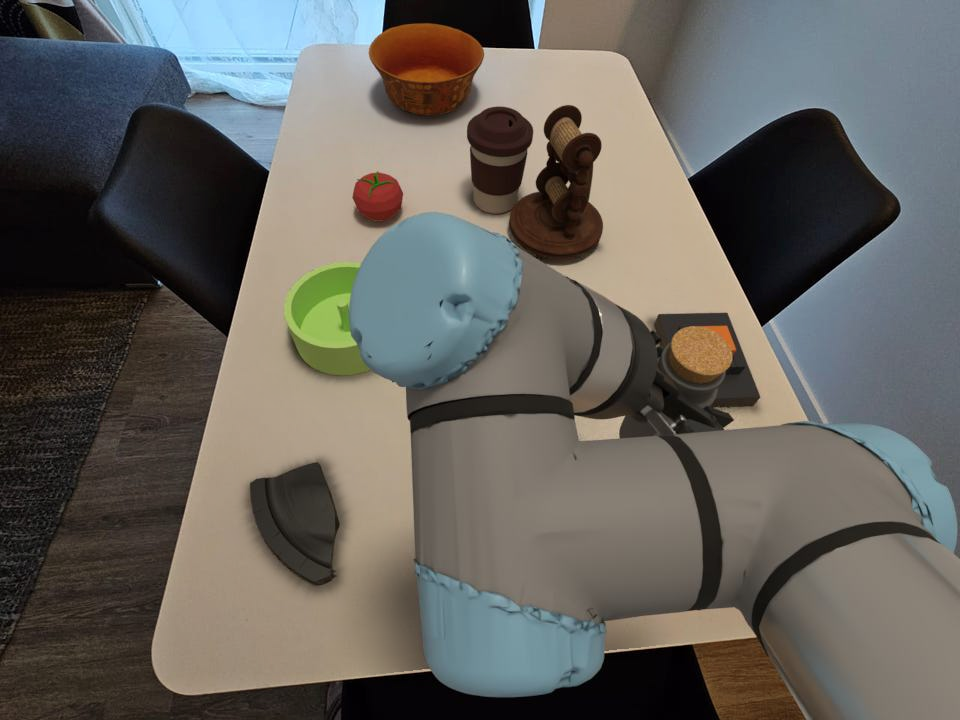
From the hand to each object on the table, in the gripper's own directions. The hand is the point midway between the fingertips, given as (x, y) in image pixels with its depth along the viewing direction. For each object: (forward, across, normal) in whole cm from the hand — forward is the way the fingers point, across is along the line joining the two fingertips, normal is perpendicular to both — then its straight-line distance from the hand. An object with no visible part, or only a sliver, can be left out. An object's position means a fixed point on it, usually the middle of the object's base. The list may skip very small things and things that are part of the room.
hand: (696, 397), depth 53 cm
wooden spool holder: (+21, -41, -5) cm, 46 cm away
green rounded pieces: (-1, -34, -27) cm, 43 cm away
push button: (+25, -10, -1) cm, 27 cm away
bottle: (+1, 0, -6) cm, 7 cm away
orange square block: (+23, -10, +2) cm, 25 cm away
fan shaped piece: (-14, -12, -40) cm, 44 cm away
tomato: (+4, -56, -22) cm, 61 cm away
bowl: (+19, -84, -8) cm, 86 cm away
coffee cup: (+18, -52, -9) cm, 55 cm away
